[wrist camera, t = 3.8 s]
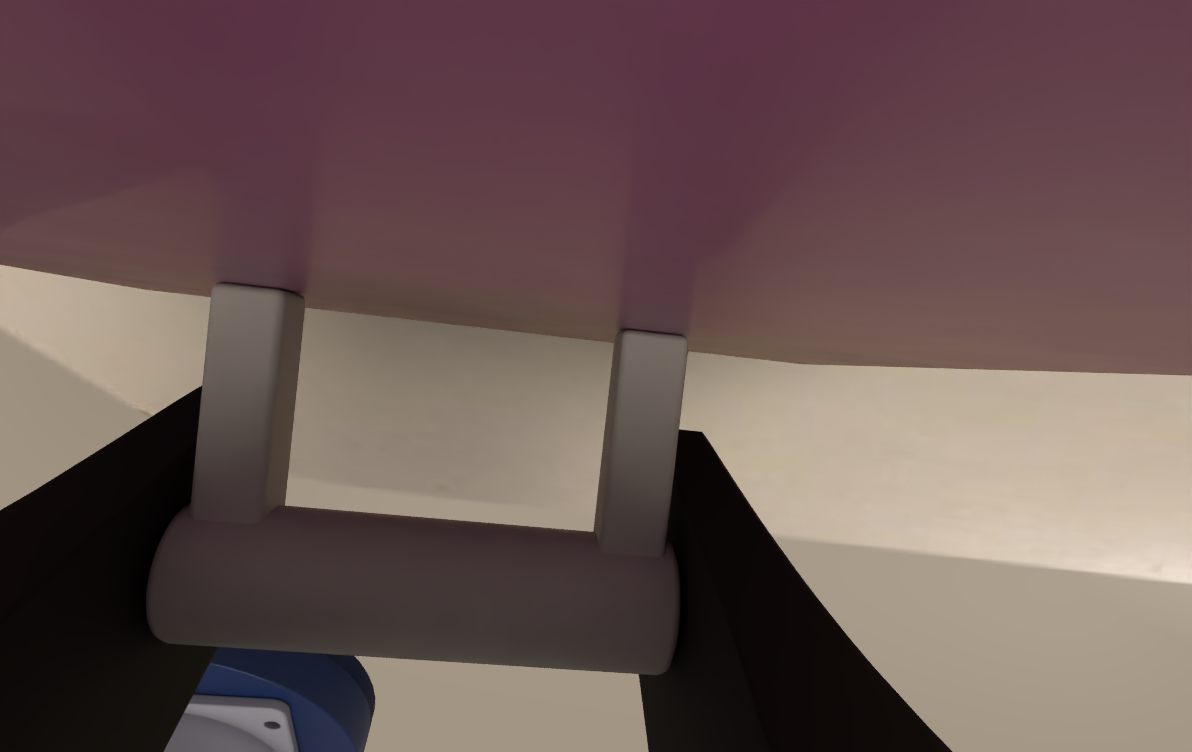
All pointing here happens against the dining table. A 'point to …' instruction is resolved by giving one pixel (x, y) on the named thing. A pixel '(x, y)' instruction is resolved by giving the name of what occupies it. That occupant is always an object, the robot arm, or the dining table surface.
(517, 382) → the dining table surface
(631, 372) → the lid
